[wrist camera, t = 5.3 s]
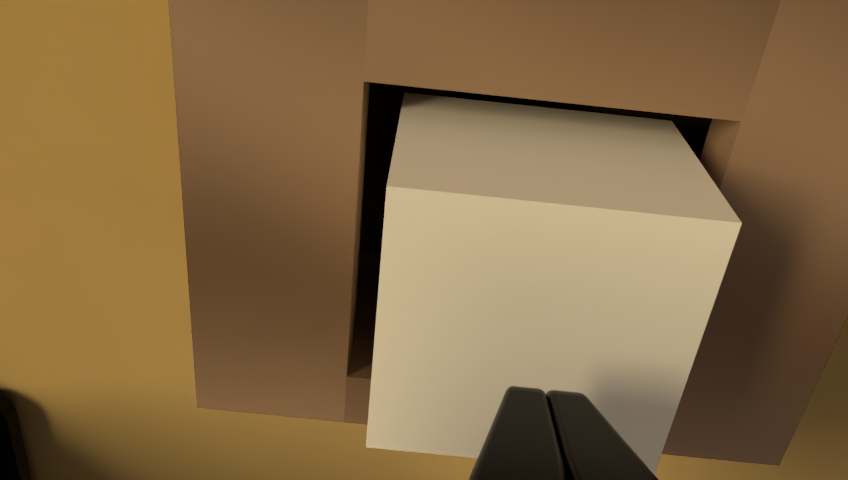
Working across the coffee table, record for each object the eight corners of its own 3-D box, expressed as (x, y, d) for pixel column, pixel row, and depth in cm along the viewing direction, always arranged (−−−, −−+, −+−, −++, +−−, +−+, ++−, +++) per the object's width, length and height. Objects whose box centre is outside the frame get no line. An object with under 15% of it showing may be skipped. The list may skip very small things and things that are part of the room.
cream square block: (612, 335, 13) (653, 475, 10) (385, 312, 13) (365, 447, 10) (671, 121, 11) (741, 223, 8) (404, 91, 11) (386, 186, 8)
